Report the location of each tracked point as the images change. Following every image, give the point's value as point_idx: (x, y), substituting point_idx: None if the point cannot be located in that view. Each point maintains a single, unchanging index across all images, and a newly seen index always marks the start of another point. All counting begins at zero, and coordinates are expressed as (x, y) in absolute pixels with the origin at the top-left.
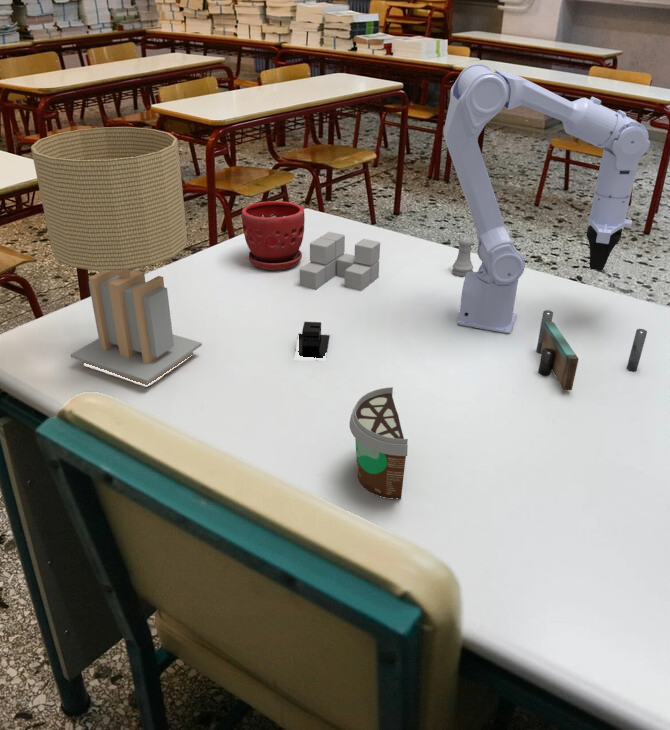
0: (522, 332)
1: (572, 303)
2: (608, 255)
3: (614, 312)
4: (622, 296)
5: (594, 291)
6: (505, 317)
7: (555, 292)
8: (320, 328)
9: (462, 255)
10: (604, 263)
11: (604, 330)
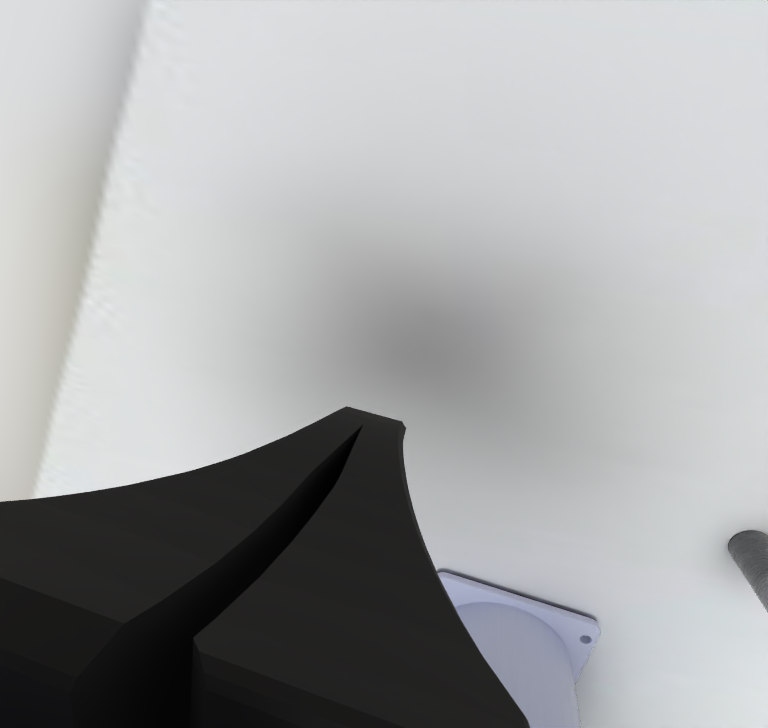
0: (573, 573)
1: (271, 350)
2: (412, 508)
3: (311, 174)
4: (128, 107)
5: (125, 237)
6: (564, 673)
7: (192, 398)
8: None
9: None
10: (402, 457)
11: (515, 252)
